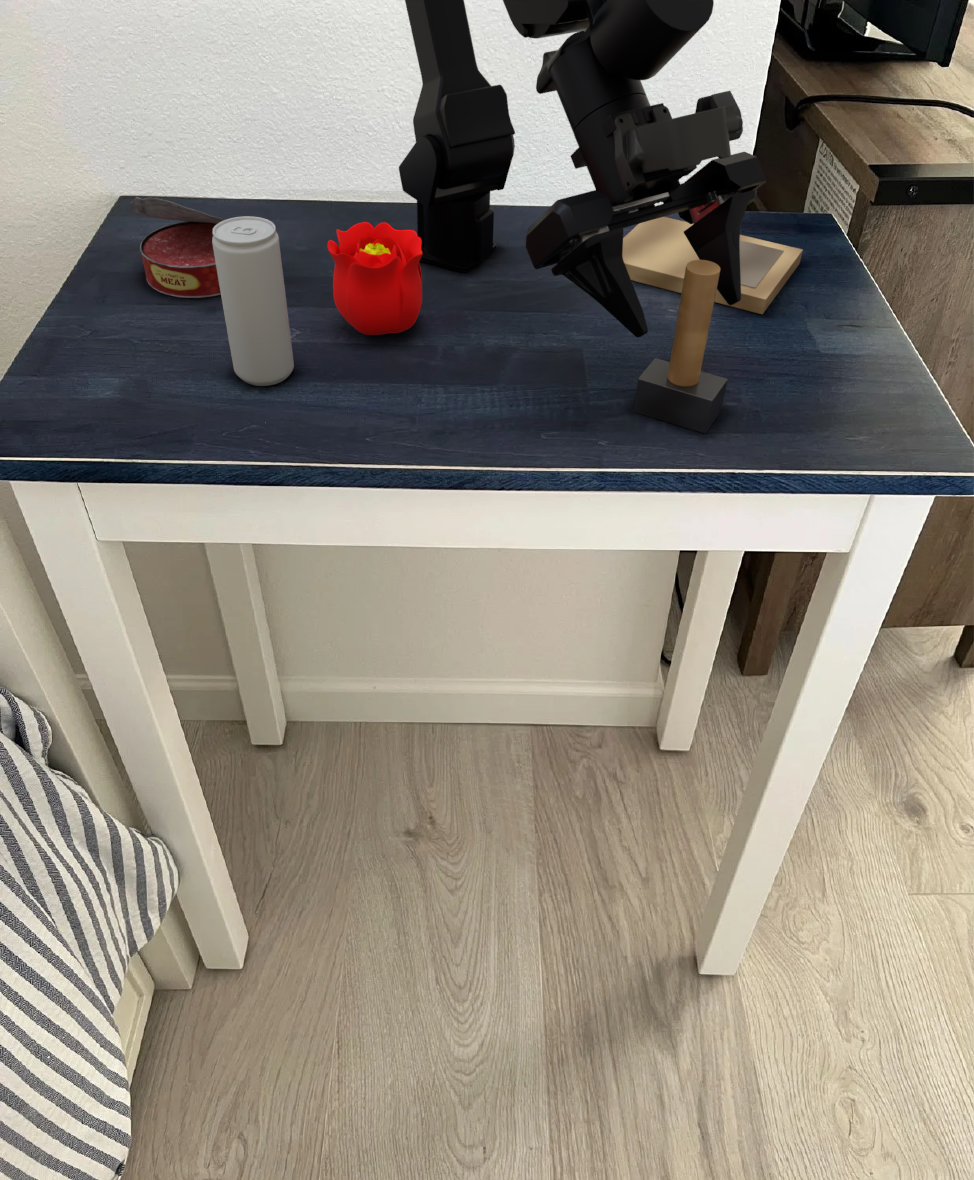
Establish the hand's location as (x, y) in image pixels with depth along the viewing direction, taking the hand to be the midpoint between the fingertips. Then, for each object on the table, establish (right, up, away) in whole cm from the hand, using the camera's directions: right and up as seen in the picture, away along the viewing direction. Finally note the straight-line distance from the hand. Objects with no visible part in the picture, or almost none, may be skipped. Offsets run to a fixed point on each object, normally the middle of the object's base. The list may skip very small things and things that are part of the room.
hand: (690, 318), depth 74 cm
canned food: (-42, +10, +20) cm, 47 cm away
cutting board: (+6, +11, +24) cm, 27 cm away
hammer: (0, -6, +5) cm, 8 cm away
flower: (-24, +3, +14) cm, 28 cm away
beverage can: (-33, -2, +8) cm, 34 cm away
